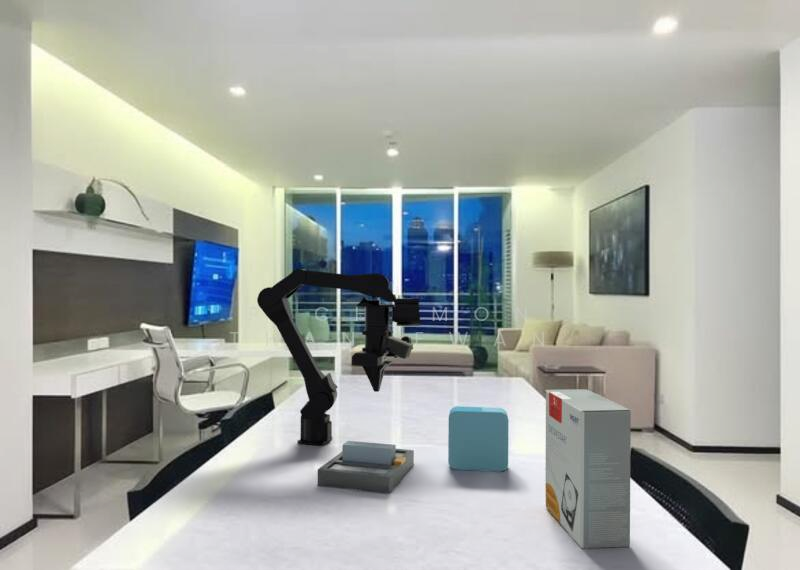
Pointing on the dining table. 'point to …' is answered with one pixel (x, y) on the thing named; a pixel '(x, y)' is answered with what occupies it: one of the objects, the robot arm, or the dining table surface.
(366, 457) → the block
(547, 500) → the hard drive box
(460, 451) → the data package
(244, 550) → the dining table surface
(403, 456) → the frame
